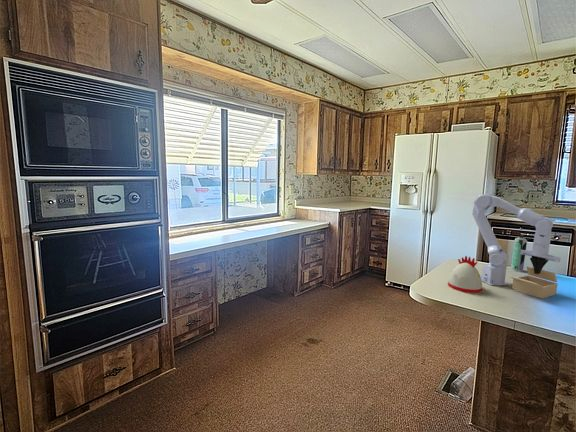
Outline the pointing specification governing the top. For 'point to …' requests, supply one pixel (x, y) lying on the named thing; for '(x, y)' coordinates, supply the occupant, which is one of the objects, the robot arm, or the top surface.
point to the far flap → (542, 274)
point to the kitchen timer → (465, 277)
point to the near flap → (525, 281)
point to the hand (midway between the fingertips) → (537, 273)
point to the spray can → (518, 254)
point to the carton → (535, 287)
